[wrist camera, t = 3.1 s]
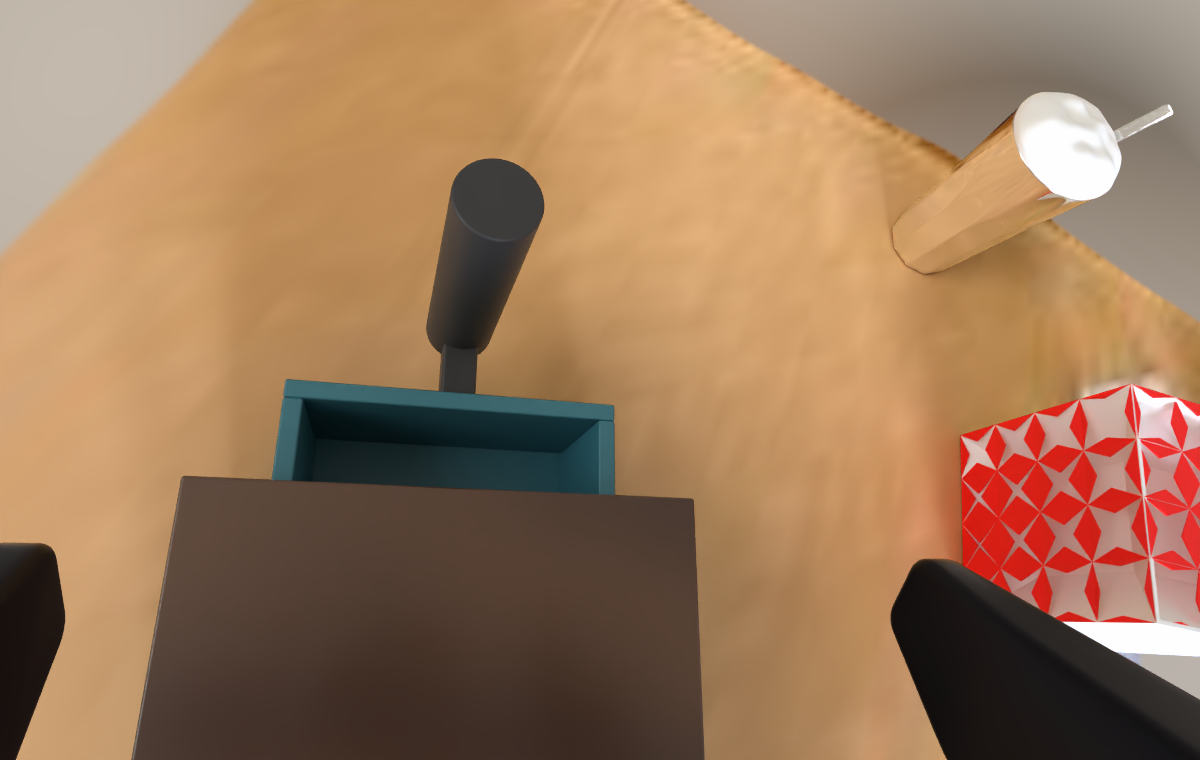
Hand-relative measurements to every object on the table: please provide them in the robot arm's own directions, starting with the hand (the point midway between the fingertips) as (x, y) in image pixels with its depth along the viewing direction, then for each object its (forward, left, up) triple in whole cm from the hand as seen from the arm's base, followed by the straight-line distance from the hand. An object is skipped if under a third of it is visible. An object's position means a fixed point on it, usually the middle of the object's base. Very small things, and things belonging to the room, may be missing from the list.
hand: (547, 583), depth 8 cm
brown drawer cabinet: (-1, +3, -17) cm, 18 cm away
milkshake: (-15, -23, -18) cm, 33 cm away
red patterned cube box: (-23, -11, -18) cm, 31 cm away
